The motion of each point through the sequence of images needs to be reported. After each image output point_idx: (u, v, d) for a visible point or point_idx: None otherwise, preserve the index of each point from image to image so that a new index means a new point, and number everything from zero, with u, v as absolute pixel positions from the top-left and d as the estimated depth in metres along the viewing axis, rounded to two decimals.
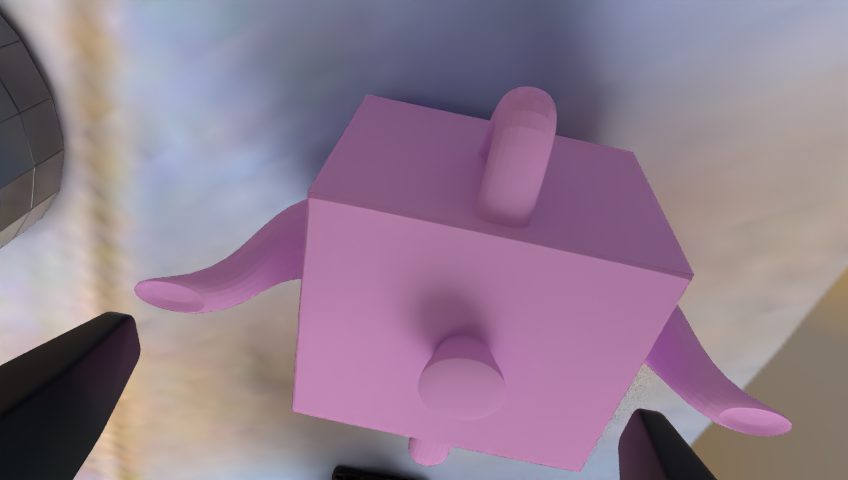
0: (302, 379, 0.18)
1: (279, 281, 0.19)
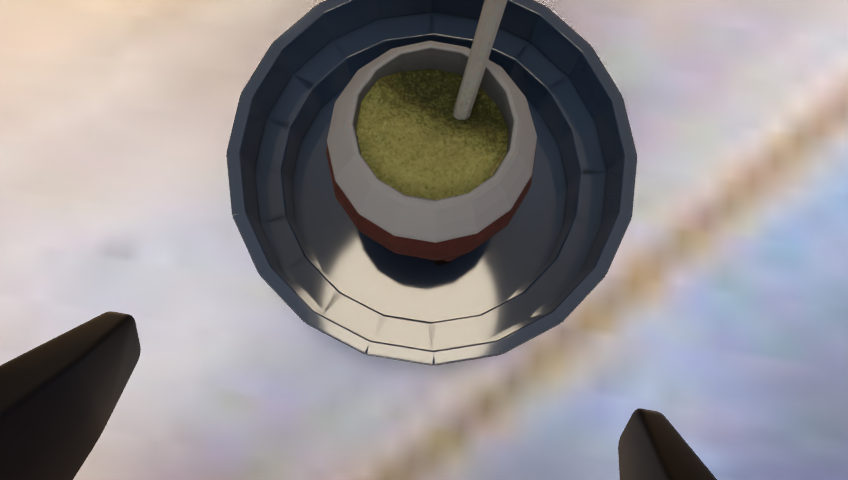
0: None
1: None
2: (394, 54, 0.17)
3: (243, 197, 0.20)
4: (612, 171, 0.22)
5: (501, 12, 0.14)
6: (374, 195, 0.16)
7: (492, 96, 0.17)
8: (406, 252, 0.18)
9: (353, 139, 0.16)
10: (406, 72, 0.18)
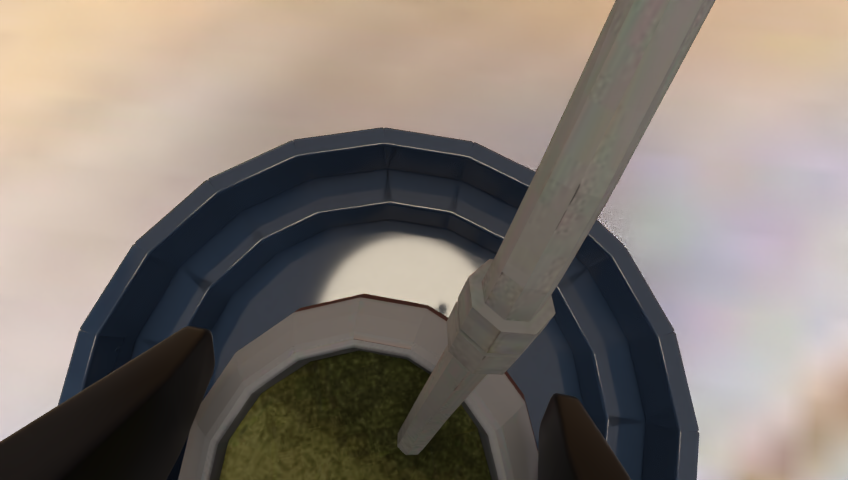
0: None
1: None
2: (286, 358, 0.09)
3: None
4: (656, 434, 0.14)
5: None
6: None
7: (465, 410, 0.10)
8: None
9: None
10: (318, 361, 0.10)
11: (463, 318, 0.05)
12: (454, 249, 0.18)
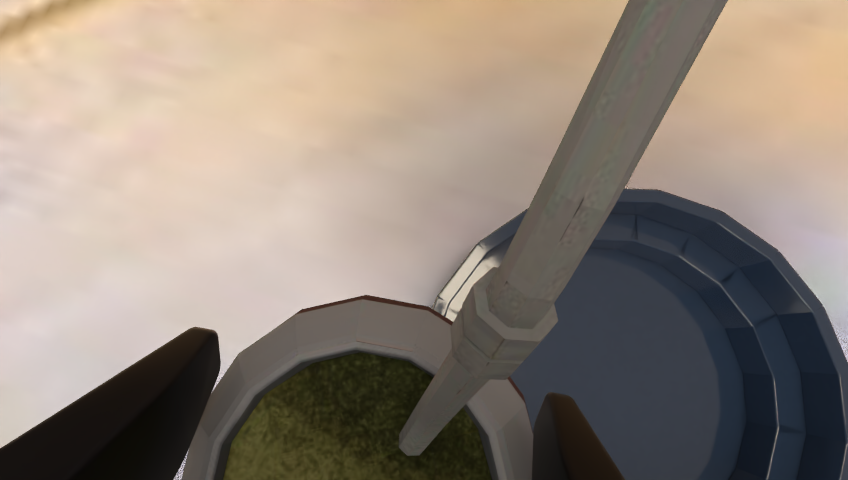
0: None
1: None
2: (289, 360, 0.09)
3: None
4: (819, 443, 0.20)
5: None
6: None
7: (466, 410, 0.10)
8: None
9: None
10: (320, 363, 0.10)
11: (467, 325, 0.05)
12: (662, 280, 0.23)
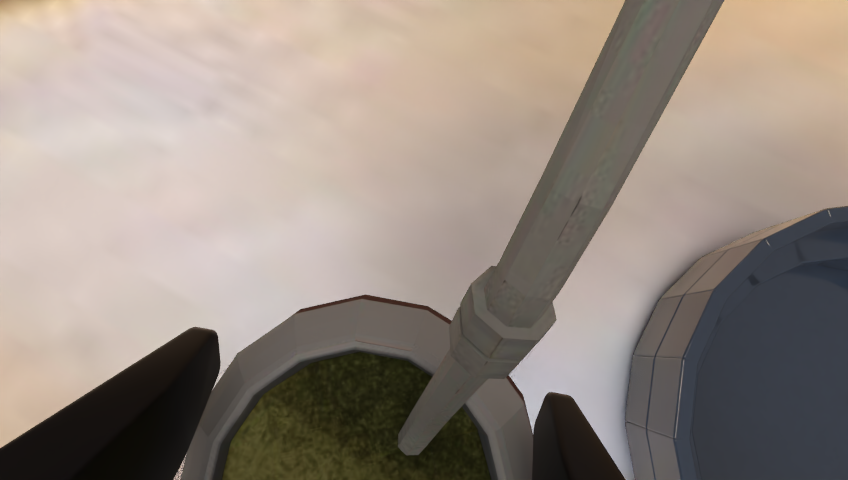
0: None
1: None
2: (288, 360, 0.09)
3: (690, 420, 0.16)
4: None
5: None
6: None
7: (465, 410, 0.10)
8: None
9: None
10: (319, 363, 0.10)
11: (466, 324, 0.05)
12: None
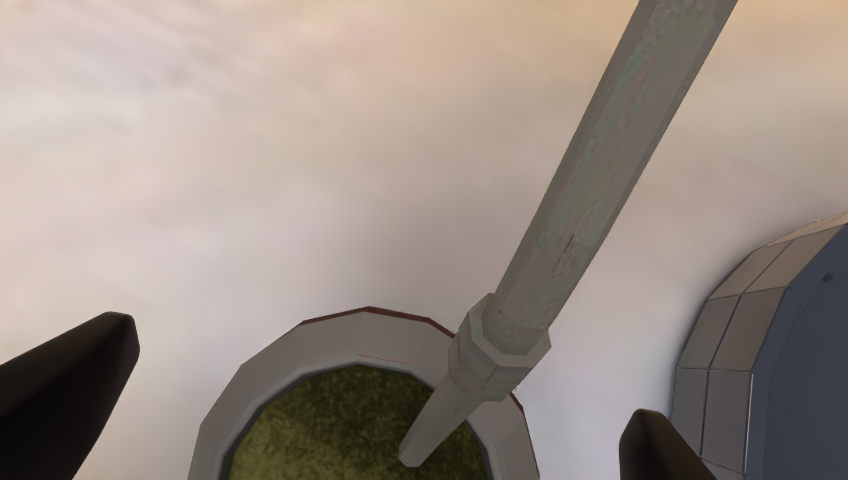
0: None
1: None
2: (291, 373, 0.09)
3: (763, 450, 0.13)
4: None
5: None
6: None
7: (465, 424, 0.10)
8: None
9: None
10: (321, 374, 0.10)
11: (463, 350, 0.05)
12: None
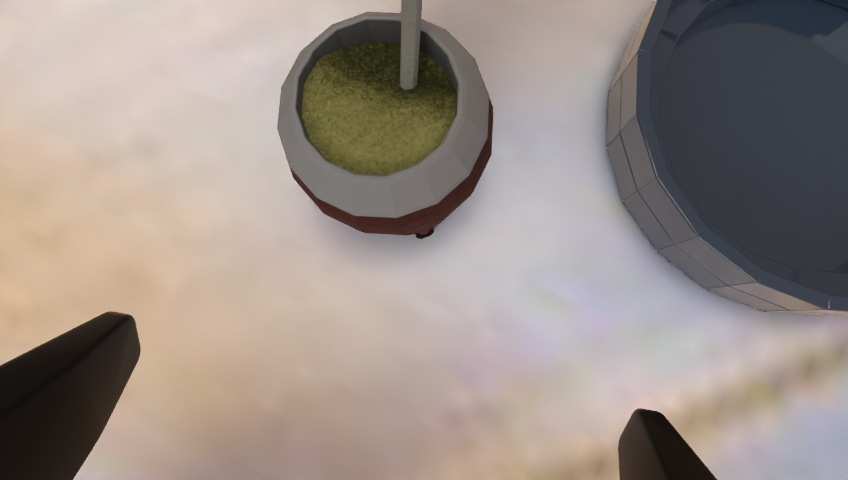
0: None
1: None
2: (330, 30, 0.16)
3: (650, 98, 0.19)
4: None
5: None
6: (326, 177, 0.16)
7: (438, 61, 0.17)
8: (373, 230, 0.18)
9: (297, 124, 0.16)
10: (349, 48, 0.17)
11: None
12: None
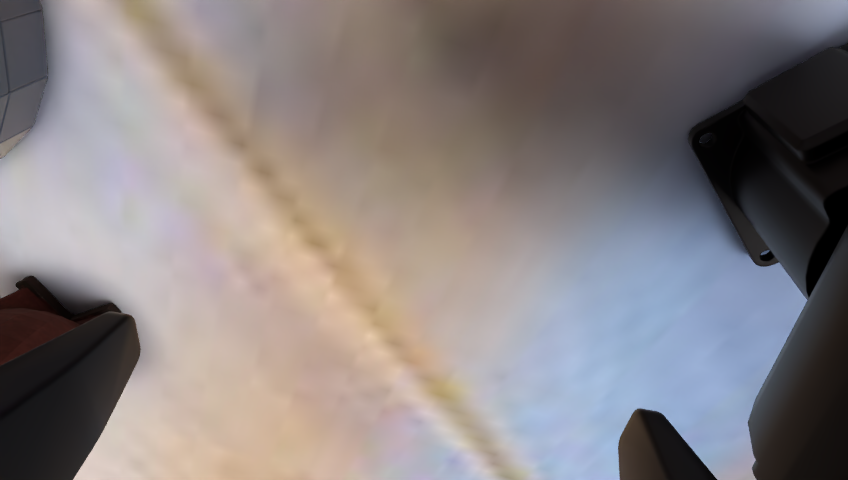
0: None
1: None
2: None
3: None
4: None
5: None
6: None
7: None
8: None
9: None
10: None
11: None
12: None
